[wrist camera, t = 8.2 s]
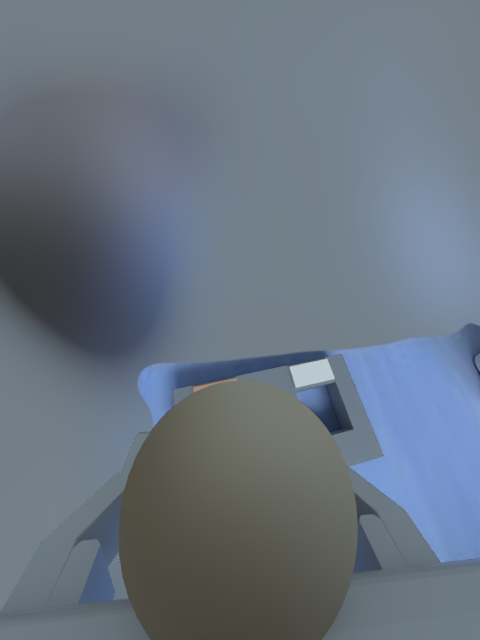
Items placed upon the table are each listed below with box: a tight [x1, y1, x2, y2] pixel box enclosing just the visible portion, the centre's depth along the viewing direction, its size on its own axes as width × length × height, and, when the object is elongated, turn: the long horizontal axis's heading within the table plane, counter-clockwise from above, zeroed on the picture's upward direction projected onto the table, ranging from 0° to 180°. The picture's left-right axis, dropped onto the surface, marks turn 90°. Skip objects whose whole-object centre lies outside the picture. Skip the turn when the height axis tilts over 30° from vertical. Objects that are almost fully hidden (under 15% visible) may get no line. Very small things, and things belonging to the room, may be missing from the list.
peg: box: [118, 381, 358, 640], centre depth 9 cm, size 4×4×12 cm
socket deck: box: [172, 354, 384, 466], centre depth 27 cm, size 22×12×3 cm, turn 103°
